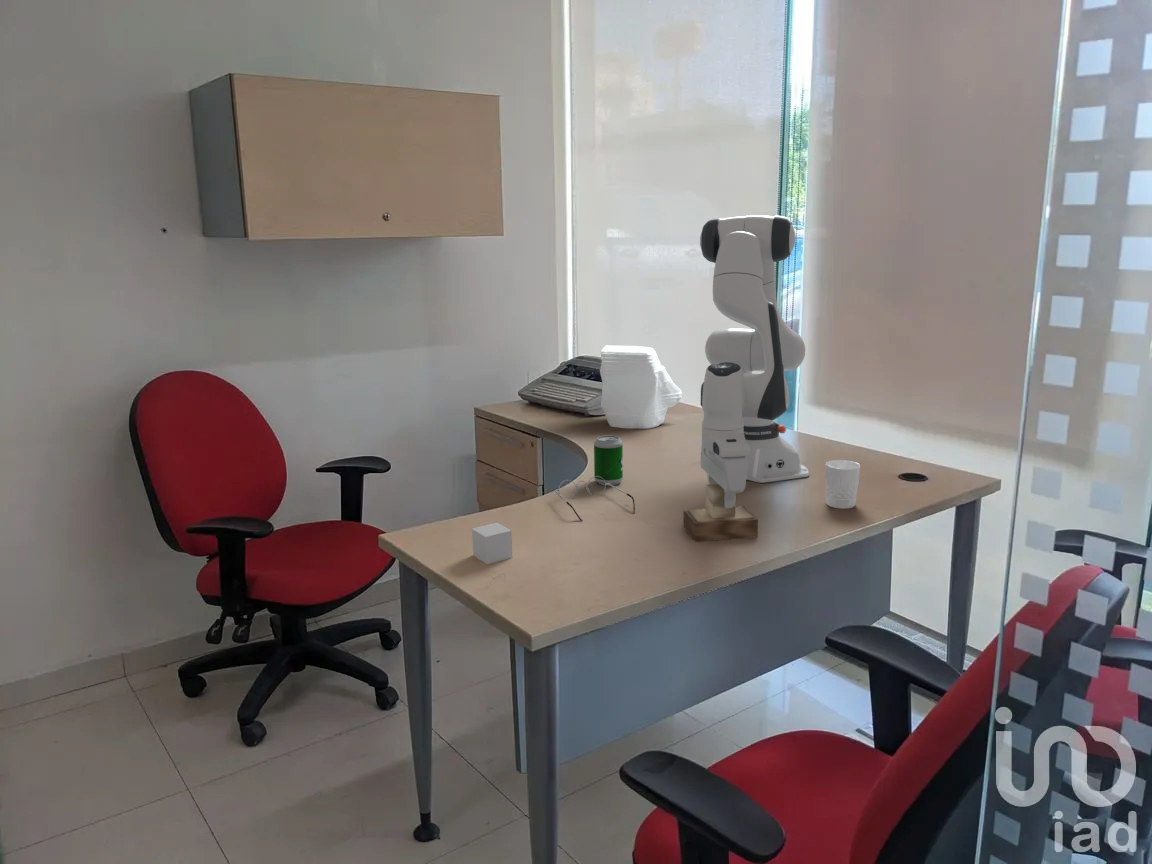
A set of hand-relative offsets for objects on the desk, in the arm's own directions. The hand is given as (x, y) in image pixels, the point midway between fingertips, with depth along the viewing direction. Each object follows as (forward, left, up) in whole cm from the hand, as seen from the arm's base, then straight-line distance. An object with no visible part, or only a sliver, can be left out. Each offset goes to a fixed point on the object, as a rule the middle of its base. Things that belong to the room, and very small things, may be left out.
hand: (720, 500), depth 186 cm
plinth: (0, 0, -7) cm, 7 cm away
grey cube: (+50, +4, -8) cm, 51 cm away
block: (0, 0, -3) cm, 3 cm away
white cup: (-34, -12, -8) cm, 37 cm away
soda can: (+17, -41, -8) cm, 45 cm away
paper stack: (-4, -101, -8) cm, 101 cm away
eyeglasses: (+24, -23, -8) cm, 34 cm away
